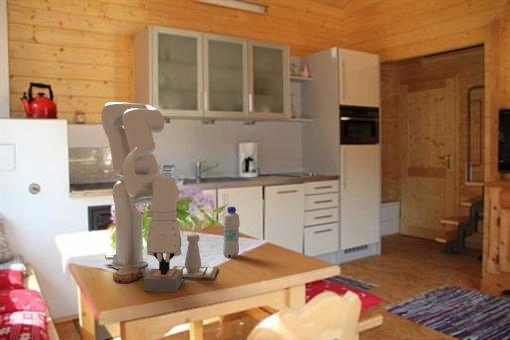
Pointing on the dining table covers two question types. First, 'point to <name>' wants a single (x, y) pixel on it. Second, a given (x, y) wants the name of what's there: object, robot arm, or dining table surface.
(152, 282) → the button housing
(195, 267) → the salt shaker
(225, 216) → the bottle
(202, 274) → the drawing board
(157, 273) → the button
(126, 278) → the cookie
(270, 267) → the dining table surface
